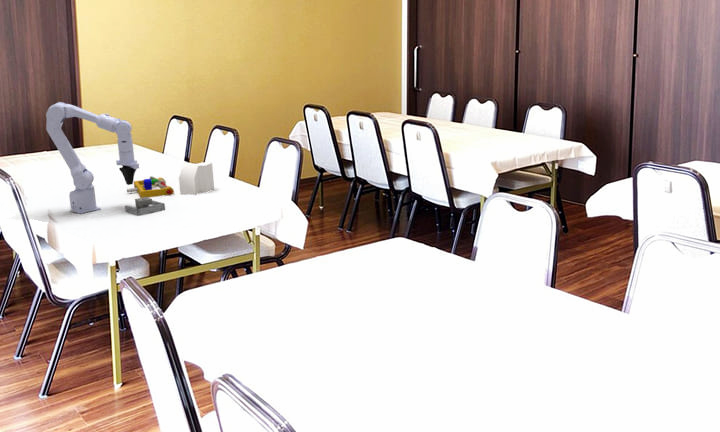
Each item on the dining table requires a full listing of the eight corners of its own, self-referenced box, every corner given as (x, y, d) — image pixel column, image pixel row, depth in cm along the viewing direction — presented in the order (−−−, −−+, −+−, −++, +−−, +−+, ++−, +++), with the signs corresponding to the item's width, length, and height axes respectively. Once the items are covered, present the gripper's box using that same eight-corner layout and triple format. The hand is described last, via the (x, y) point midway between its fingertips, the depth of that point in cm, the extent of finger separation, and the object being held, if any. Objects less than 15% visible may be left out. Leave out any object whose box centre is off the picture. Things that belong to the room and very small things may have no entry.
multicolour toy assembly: (162, 170, 363) (173, 181, 336) (163, 183, 365) (174, 196, 338) (121, 174, 357) (129, 186, 330) (123, 187, 358) (131, 201, 331)
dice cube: (141, 213, 308) (139, 201, 307) (136, 211, 312) (134, 199, 311) (153, 211, 311) (151, 198, 310) (148, 209, 315) (146, 196, 314)
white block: (214, 189, 346) (212, 162, 343) (202, 195, 336) (200, 167, 333) (192, 188, 349) (190, 162, 346) (180, 194, 339) (177, 167, 336)
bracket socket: (139, 215, 304) (138, 208, 303) (125, 211, 311) (124, 204, 310) (166, 209, 312) (165, 202, 311) (151, 205, 319) (151, 198, 318)
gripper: (144, 151, 311) (147, 184, 314) (126, 148, 321) (129, 180, 324) (128, 154, 306) (132, 187, 309) (110, 150, 316) (114, 183, 319)
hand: (129, 184), depth 317 cm, fingers closed
